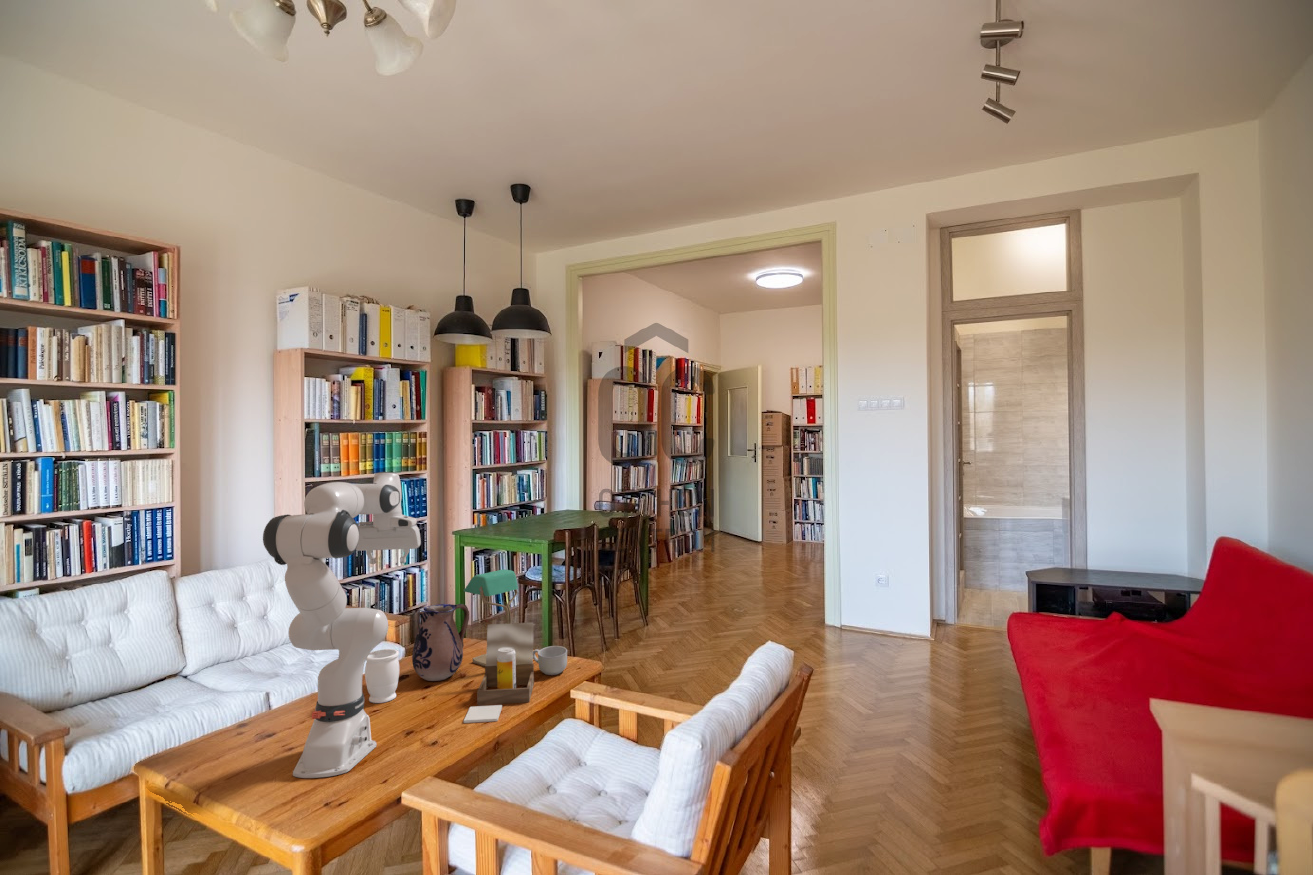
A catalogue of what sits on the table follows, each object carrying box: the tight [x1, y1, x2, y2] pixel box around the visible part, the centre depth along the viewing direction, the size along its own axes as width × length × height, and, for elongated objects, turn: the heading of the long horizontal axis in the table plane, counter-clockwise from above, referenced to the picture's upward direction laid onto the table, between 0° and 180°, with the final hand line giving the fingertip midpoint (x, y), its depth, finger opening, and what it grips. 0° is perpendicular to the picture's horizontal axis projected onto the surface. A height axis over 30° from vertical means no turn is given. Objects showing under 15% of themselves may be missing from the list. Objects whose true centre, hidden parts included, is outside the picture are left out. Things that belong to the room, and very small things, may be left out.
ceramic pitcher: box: [411, 603, 470, 682], centre depth 231 cm, size 18×21×25 cm
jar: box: [364, 648, 400, 704], centre depth 210 cm, size 11×10×15 cm
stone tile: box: [463, 704, 503, 724], centre depth 196 cm, size 10×10×1 cm
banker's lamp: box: [463, 569, 519, 668], centre depth 242 cm, size 16×21×35 cm
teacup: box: [533, 645, 568, 676], centre depth 233 cm, size 14×11×8 cm
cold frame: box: [476, 622, 535, 706], centre depth 215 cm, size 21×17×20 cm
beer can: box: [496, 647, 517, 689], centre depth 212 cm, size 6×6×15 cm
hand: (388, 563), depth 207 cm, fingers open, 8 cm apart
